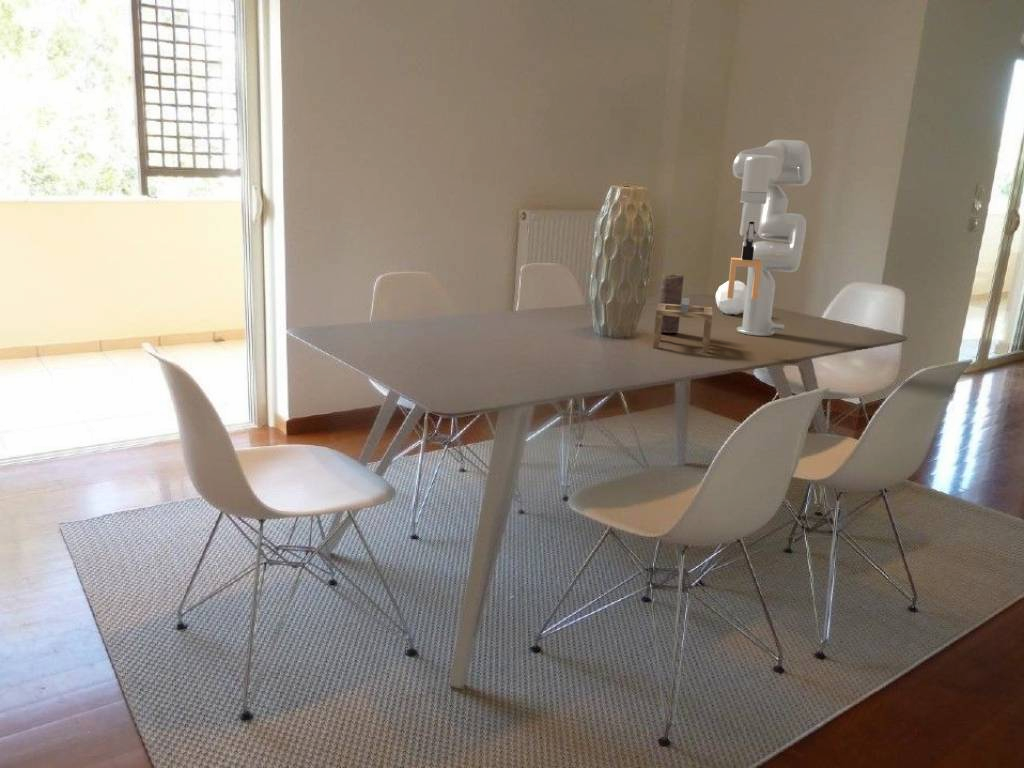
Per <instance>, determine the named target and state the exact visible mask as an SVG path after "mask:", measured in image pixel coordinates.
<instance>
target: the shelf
mask: <svg viewBox="0 0 1024 768" xmlns="http://www.w3.org/2000/svg"><path fill="white" fill-rule="evenodd" d="M680 311H681V305H676V304H664V303H658V304H657V307H656V310H655V322H654V330H653V331H654V333H653V344H652V349H659V348H660V342H661V339H662V333H661V330H662V320H663V316H675V317H680V318H688V319H701V320H704V324H703V333H702V342H701V344H702V353H705V354H708V353H709V351H710V339H711V333H712V332H711V331H712V324H713V323H712V321H713V315H714V314H713V307H710V306H698V305H689V311H688V313H685V312H680Z"/></svg>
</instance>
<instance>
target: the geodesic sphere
mask: <svg viewBox="0 0 1024 768" xmlns="http://www.w3.org/2000/svg"><path fill="white" fill-rule="evenodd" d="M728 284H729V280H727V281H726V282H724V283H723V284H721V285H719V287H718V289H717V290H716V292H715V303H716V304H717V305H716V306H717V308H718V309H719V310H720V311H721V312H722V313H724V314H726V315H732V314H734V315H735V316H737V315H740V314H741V313H743V312H744V304H745V296H746V287H747V282H745V281H740V280H738V279H735V284H734V293H733V298H727V293H728Z"/></svg>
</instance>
